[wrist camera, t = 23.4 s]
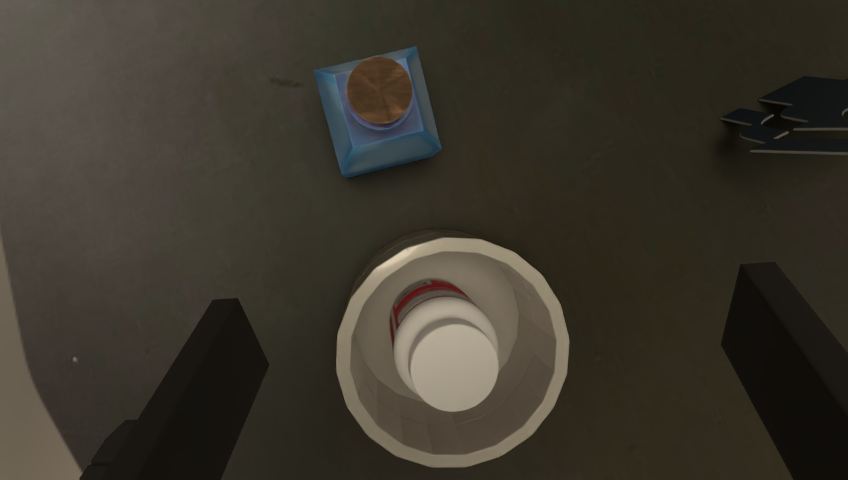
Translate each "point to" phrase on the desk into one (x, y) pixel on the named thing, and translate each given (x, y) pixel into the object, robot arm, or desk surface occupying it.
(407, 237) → the pot
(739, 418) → the desk surface
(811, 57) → the desk surface
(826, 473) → the robot arm
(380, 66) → the perfume bottle
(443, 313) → the pill bottle
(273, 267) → the desk surface
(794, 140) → the logo
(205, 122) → the desk surface
